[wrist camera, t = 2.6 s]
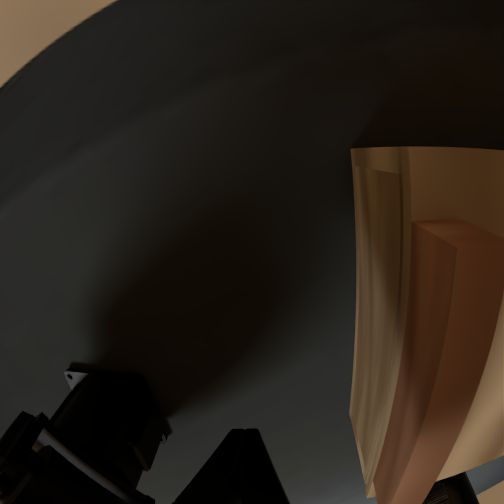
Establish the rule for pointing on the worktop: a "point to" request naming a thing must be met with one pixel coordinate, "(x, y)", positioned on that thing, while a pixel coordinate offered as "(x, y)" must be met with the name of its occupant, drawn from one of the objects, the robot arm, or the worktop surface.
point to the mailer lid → (445, 325)
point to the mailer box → (375, 290)
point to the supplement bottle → (452, 491)
